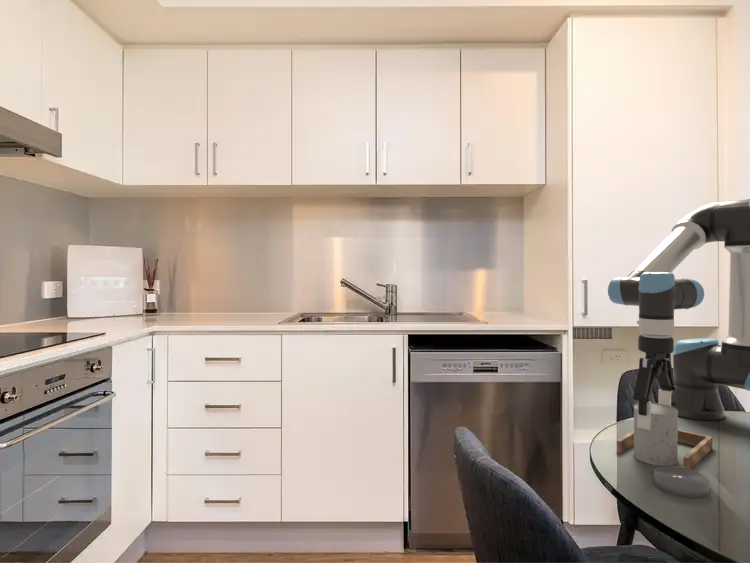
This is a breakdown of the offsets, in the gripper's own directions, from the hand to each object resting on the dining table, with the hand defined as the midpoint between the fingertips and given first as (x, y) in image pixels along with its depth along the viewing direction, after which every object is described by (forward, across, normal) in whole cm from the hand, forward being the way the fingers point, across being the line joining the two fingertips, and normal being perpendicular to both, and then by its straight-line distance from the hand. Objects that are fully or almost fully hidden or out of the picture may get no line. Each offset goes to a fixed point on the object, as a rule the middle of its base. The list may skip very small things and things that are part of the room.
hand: (654, 421), depth 123 cm
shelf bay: (+9, -7, 0) cm, 11 cm away
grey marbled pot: (+9, 0, 0) cm, 9 cm away
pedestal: (+9, +12, +10) cm, 18 cm away
